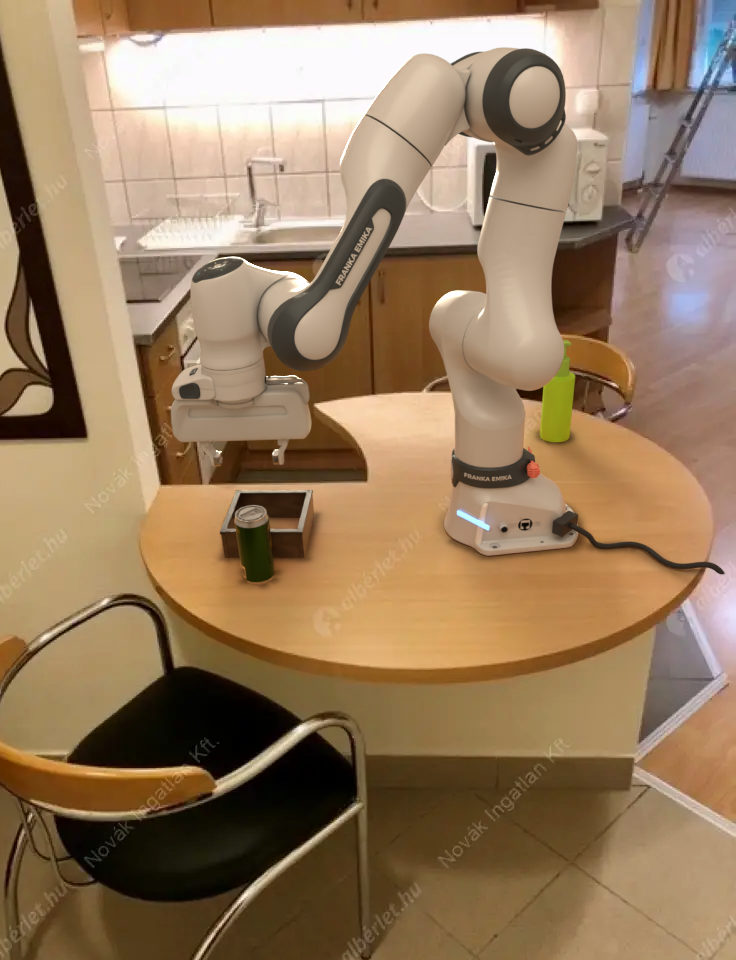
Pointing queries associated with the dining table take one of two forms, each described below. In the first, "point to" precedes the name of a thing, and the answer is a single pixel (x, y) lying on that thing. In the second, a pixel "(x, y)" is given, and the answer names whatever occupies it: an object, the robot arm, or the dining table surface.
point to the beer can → (254, 544)
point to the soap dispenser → (558, 403)
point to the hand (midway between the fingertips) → (248, 463)
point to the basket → (276, 506)
